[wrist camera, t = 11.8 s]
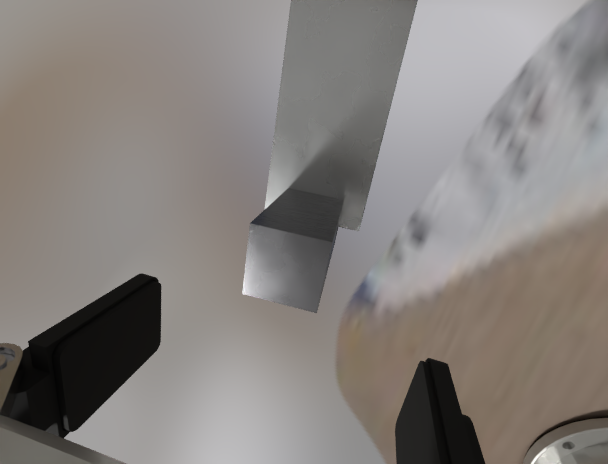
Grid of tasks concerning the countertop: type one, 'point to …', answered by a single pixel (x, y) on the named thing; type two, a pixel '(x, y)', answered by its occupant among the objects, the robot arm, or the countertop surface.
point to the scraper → (324, 140)
